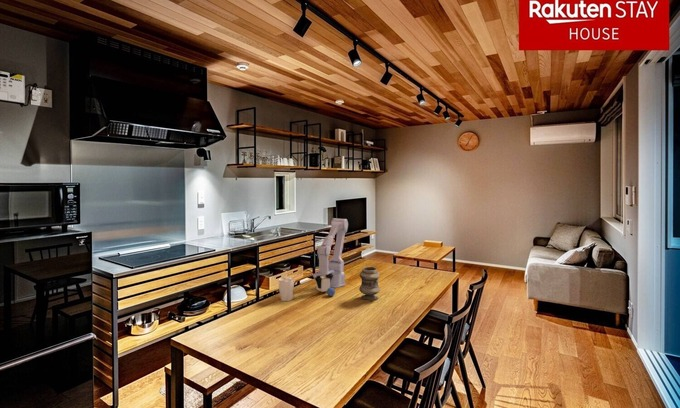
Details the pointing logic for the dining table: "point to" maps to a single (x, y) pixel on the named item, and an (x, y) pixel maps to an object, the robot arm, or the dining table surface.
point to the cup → (286, 288)
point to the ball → (330, 291)
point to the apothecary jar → (369, 283)
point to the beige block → (324, 284)
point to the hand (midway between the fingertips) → (323, 287)
